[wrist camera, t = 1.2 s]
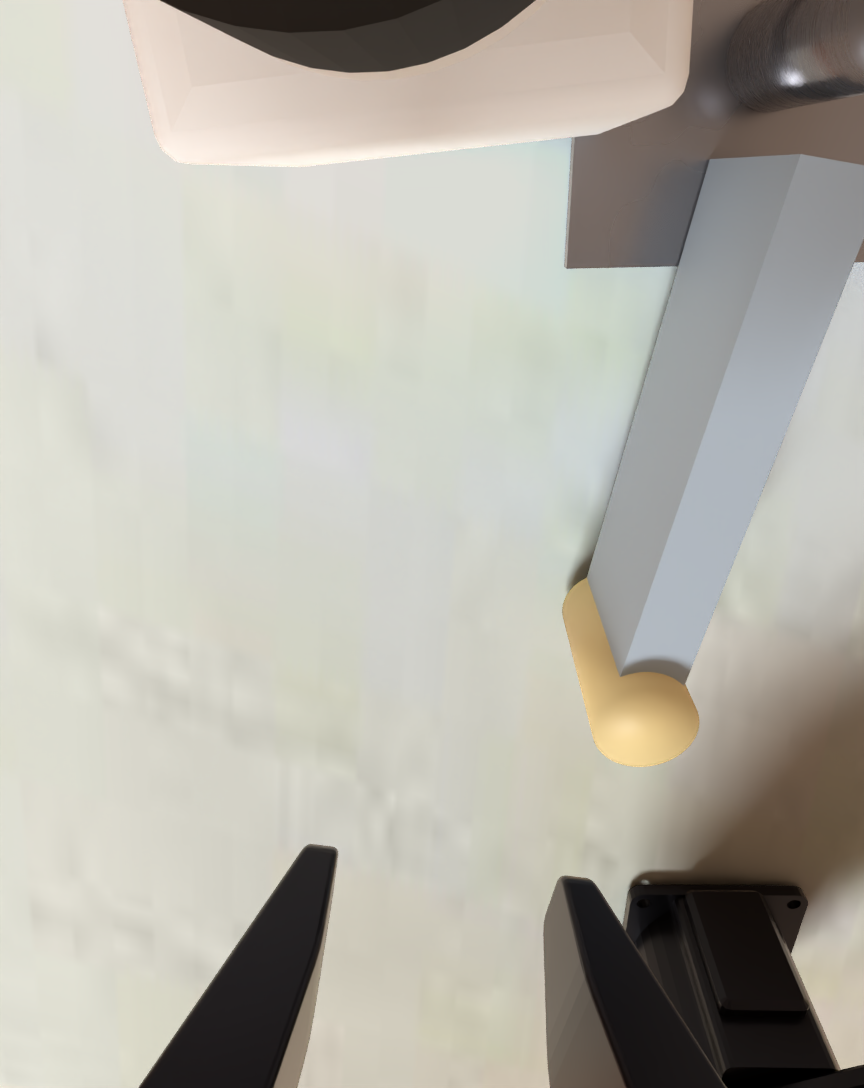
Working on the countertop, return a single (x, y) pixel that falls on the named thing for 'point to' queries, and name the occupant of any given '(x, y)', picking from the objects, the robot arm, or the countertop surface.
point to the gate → (707, 436)
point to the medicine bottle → (398, 74)
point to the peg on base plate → (720, 124)
